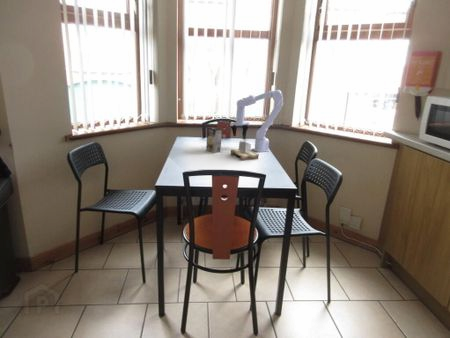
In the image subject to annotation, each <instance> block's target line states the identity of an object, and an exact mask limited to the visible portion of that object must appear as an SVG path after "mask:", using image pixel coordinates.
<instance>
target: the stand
mask: <svg viewBox="0 0 450 338" xmlns="http://www.w3.org/2000/svg"><path fill="white" fill-rule="evenodd" d="M230 155H231V156H235V155H237V156H239V157H240V160H241V161H249V160H250V161H251V160H259V156H260V155H259V154H258V152H257V153H256V151H252V150H250V153H248V154H245V153H243V152H241V151H239V148H237V149H235V148H233V149H230Z"/></svg>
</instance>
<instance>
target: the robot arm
mask: <svg viewBox="0 0 450 338" xmlns="http://www.w3.org/2000/svg"><path fill="white" fill-rule="evenodd" d="M263 99H272V100H273V101H274V104H275V106H274V107H273V108H272V110H271V112H270V113H269V115H268V116H267V118H266V119H265V121H264V123H263V124H262V126H261V127H260V128H258V130H257V131H256V134H255V140H254V148H251V149H252V150H253V151H254V152H257V153H261V152H263V153H264V152H269V146H270V140H269V139H268V137H266V134H267V131H268V130H269V128H270V126H271V125H272V124H273V122H274V121H275V119H276V117H277V115H278V114H279V113H280V111H281V109H282V108H283V106H284V96H283V91H281V90H280V89H275V90H270V91H266V92H264V93H261V94H258V95H251V94H250V95H248V96H247V97H242V98H240V99H238V100H237V102H236V118H235V122H230V128H231V130H232V135H233V137H236V135H237V128H238V127H237V126H240V127H241V126H242V132H241V133H242V136H246V132H247V131H248V129H249V126H250V122H245V115H246V114H245V111H246V110H245V108H246V107H248V106H252V105H254V104H256V103H257V101H260V100H263ZM252 150H251V151H252Z"/></svg>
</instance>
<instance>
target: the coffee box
mask: <svg viewBox="0 0 450 338" xmlns="http://www.w3.org/2000/svg"><path fill="white" fill-rule="evenodd" d="M222 133H223V128H219V127H215V126H209V127H206V144H205V146H206V150H205V151H208V152H210V153H212V154H215V153H221V152H222V151H221V150H222V135H223V134H222Z"/></svg>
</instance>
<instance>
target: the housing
mask: <svg viewBox="0 0 450 338" xmlns="http://www.w3.org/2000/svg"><path fill="white" fill-rule="evenodd" d="M238 145H239V146H238V149H239V151H241V152H243V153H245V154H248V153H250V151H252V150H251V149H252V144H251V143H250V142H247V141H246V140H240V141H239V144H238Z"/></svg>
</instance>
